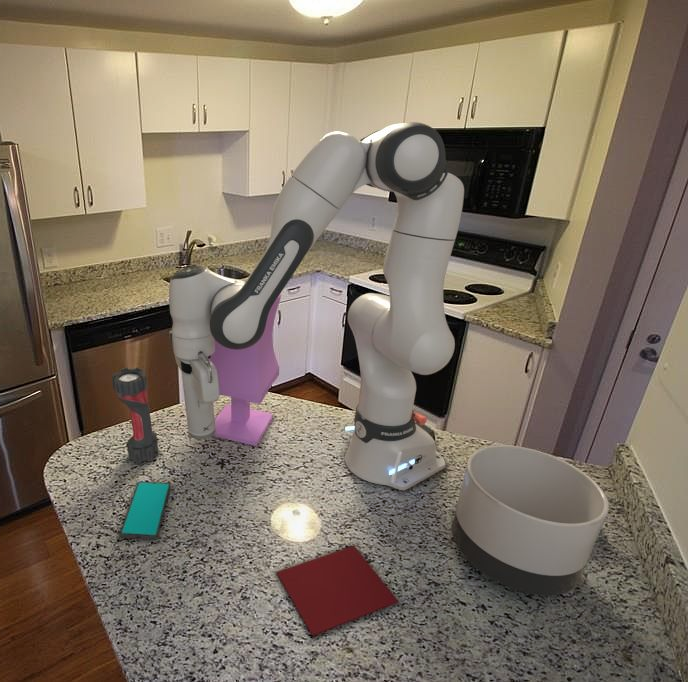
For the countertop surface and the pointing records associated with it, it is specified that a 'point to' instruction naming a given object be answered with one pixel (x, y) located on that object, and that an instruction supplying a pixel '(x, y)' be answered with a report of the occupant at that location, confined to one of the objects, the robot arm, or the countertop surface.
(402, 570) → the countertop surface
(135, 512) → the smartphone
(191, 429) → the travel mug
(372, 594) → the napkin
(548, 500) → the planter
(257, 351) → the vase
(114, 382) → the flashlight
